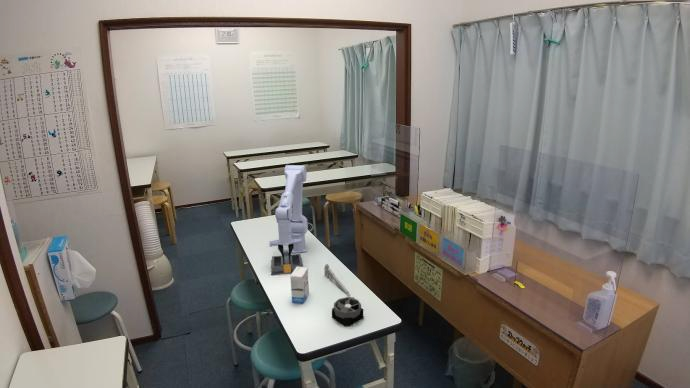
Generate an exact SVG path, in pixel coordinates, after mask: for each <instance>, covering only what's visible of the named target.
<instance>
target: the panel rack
mask: <svg viewBox="0 0 690 388" xmlns="http://www.w3.org/2000/svg"><path fill="white" fill-rule="evenodd" d="M302 259H303V258H302V257H301V253H297V254H296V253H293V254H291V256H290V260H289V264H285V261H284V260H283V257H282V255H272V256H271V261H270V262H271V263H270V267H271V269H270V271H271V272H270V275H271V276H278V275H280V276H281V275H288V274H290V275H291V274H292V273H293V271H294V270H295V268H296V267H304V265H303V260H302Z"/></svg>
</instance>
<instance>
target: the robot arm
mask: <svg viewBox="0 0 690 388" xmlns="http://www.w3.org/2000/svg"><path fill="white" fill-rule="evenodd" d="M307 170H308V169H307V167H306V166H305V165H304V164H303V165H301V164H300V165H295V164H291V165H289V164H286V165H285V167H284V170H283V173H284V177H285V179H286V182H285V187H284V188H285V189H284V192H283V193H282V194H281V196H280V200H279V205H278V207H277V208H275V210H274V211H275V213H274V214H275V215H274V216H275V219H276V223H277V231H278V239H276V240H269V244H268V245H269V247H275V246H276V247H277V249H278V251H279V252H280V256H282V257H283V260H284V250H285V249H284V247H285V246H287V250H288V255H289V260H290V256H291V255H292V254H296V253H297V254H299V253H306V252H308V251H307V246H306V245H307V244H306V235H305V234H307V233H308V231H309V229H308V228H309V225H308V224H309V223H308V218H307V217H306V216H305V215H303V189H304V187H303V186H304V183H306V181H307V174H308V173H307Z"/></svg>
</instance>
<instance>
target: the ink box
mask: <svg viewBox="0 0 690 388" xmlns="http://www.w3.org/2000/svg"><path fill="white" fill-rule="evenodd" d="M308 268H309V267H304V266H303V267H296V268H295V270H294V271H293V273H291V274H290V275H289V276H290V291H291V303H294V304H295V303H296V304H304V303H305V301H306V299H307V297H308V295H309V293H310V288H309V286H310V285H309V284H310V283H309V269H308Z"/></svg>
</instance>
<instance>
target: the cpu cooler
mask: <svg viewBox="0 0 690 388" xmlns="http://www.w3.org/2000/svg"><path fill="white" fill-rule="evenodd" d="M331 318H332V319H333V320H334V321H336V322H338V323H339V324H341V325H342V326H344V327H351V326H352V325H353V324H356V323H357V322H359V321H360V320H362V319H364V309H363V308H362V304H361V302H360V301H359V299H357V298H355V296H353V297H352V296H346V297H341V298H338V299H337V300H335V302H334V303H333V308H332V307H331Z"/></svg>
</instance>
